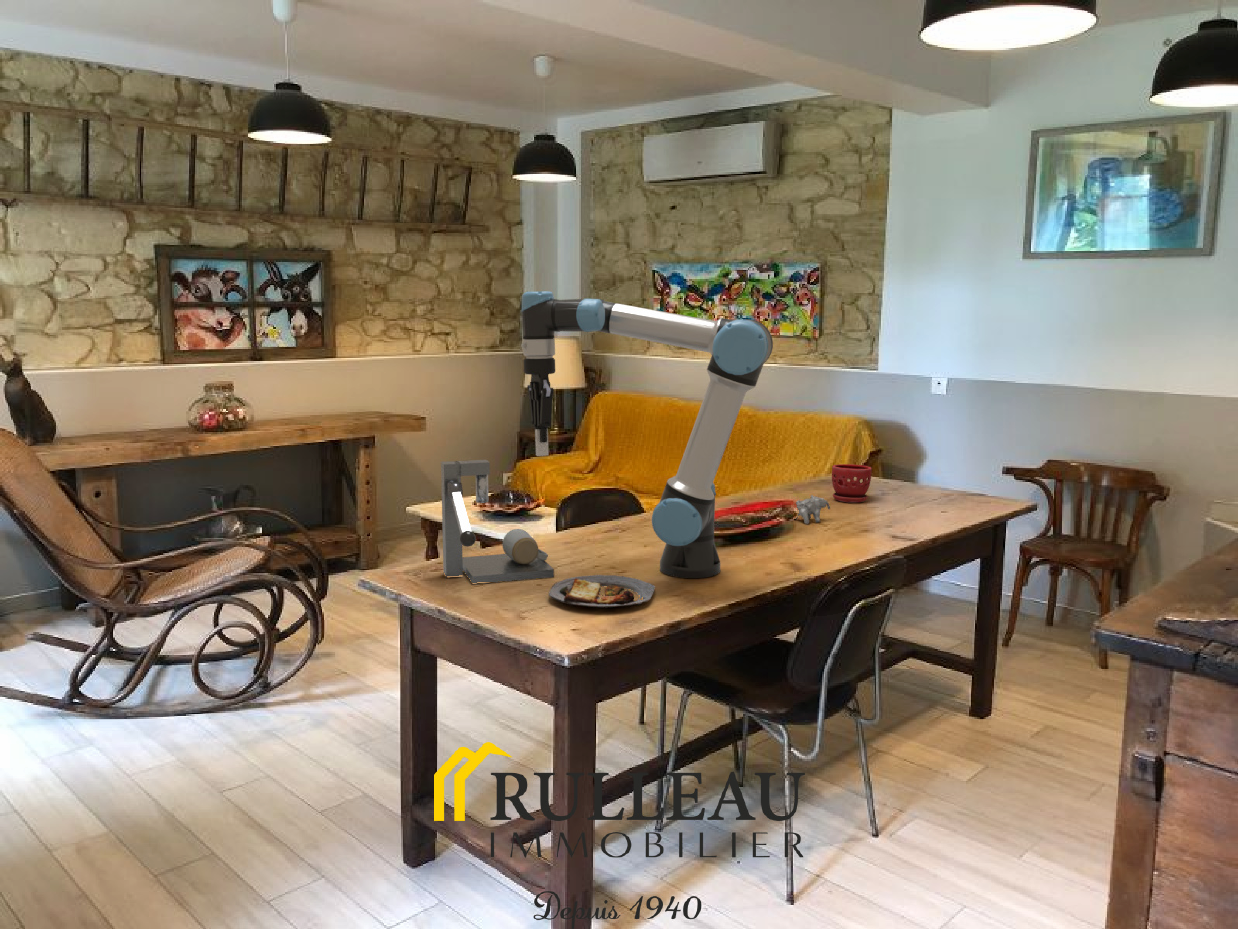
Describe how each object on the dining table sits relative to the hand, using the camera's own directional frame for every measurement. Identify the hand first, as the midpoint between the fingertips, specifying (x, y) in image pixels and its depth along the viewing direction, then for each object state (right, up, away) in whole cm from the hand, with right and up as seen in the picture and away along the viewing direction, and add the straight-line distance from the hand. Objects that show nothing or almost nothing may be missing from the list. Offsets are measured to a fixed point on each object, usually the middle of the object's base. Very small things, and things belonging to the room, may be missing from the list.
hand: (542, 455), depth 234 cm
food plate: (+15, -33, -13) cm, 39 cm away
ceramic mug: (-5, -27, +9) cm, 29 cm away
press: (-12, -29, +6) cm, 32 cm away
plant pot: (+98, -15, +97) cm, 138 cm away
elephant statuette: (+78, -20, +66) cm, 104 cm away
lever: (-18, -15, -10) cm, 26 cm away
